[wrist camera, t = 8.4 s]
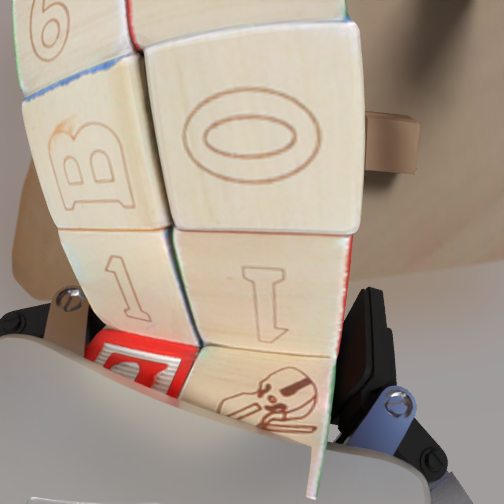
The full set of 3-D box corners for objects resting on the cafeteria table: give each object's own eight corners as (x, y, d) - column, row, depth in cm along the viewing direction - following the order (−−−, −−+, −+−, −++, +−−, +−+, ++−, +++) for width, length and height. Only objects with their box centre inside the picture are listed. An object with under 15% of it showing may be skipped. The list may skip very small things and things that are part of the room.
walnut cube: (407, 115, 27) (420, 123, 23) (404, 160, 30) (415, 174, 26) (361, 110, 28) (367, 117, 24) (360, 155, 31) (365, 169, 27)
